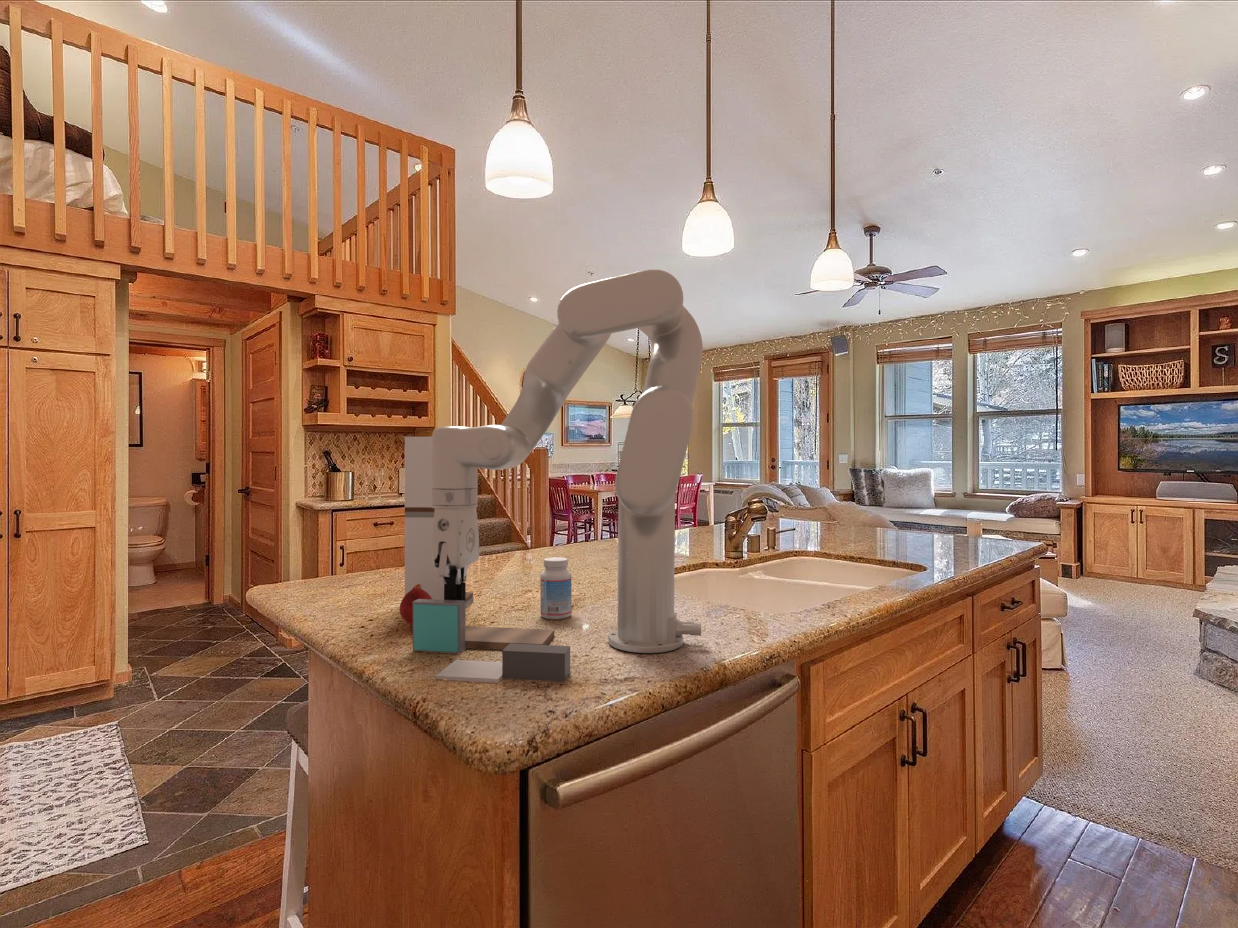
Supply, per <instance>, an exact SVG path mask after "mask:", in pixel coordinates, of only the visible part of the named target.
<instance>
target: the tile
mask: <svg viewBox="0 0 1238 928" xmlns="http://www.w3.org/2000/svg"><path fill="white" fill-rule="evenodd" d="M465 626H466V609H465V601H461V600H433V599H417V600H415V601H413V626H412V652H414V651H423V652H422V653H435V652H440V653H441V652H442V654H456V653H461V654H462V653H463V652H465V651H466V648H465ZM464 650H465V651H464ZM424 651H425V652H424ZM440 653H439V654H440Z"/></svg>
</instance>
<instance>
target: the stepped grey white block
mask: <svg viewBox="0 0 1238 928" xmlns="http://www.w3.org/2000/svg"><path fill="white" fill-rule="evenodd" d="M501 652H502V653H501V655H502V661H487V660H485V661H484V660H470V659H469V660H468V659H465V660H464V659H455V660H454V661H452V662H451V663H450V664H449V665H448V666H446V667H445V668H444V669H443V670H441V671H440V672H438V673H437V675H436V677H435V678H436V679H447V680H446V681H455V680H456V682H477V683H496V684H498V683H500V682H501V680H502V679H508V680H524V681H525V680H526V681H527V680H528V681H541V682H542V681H544V682H545V681H546V682H559V683H560V682H561V683H565V682H566V681H567V679H568V677H569V676H570V674H571V645H555V644H548V645H535V644H513V643H510V644H509V645H508V646H507V647H506V648H505V649H504V650H501ZM436 679H435V680H436Z"/></svg>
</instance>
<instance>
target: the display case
mask: <svg viewBox="0 0 1238 928" xmlns="http://www.w3.org/2000/svg"><path fill="white" fill-rule="evenodd" d="M434 511H435V508H432V436H404V596H405V595H406V594H407V593H408V592H409V591H411V590H412V589H413V587H414V586H415V584H418V583H419V584H420V585H421V589H422V590H424V591H426V592H427V593H428V594H429V595H430V596H431V598H432V599H433V600H444V584H443V577H440V576H439V575H438V573H439V568H436V567H435V566H434V565H433V562H432V534H433V521H434ZM449 565H450V564H449ZM473 602H474V591H467V592H466V604H465V608H466V607H467V606H468V605H469V604H470V603H471V604H473ZM471 604H470V605H471ZM470 605H469V606H470ZM469 606H468V607H469ZM468 607H467V608H468ZM467 608H466V609H467Z"/></svg>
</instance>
